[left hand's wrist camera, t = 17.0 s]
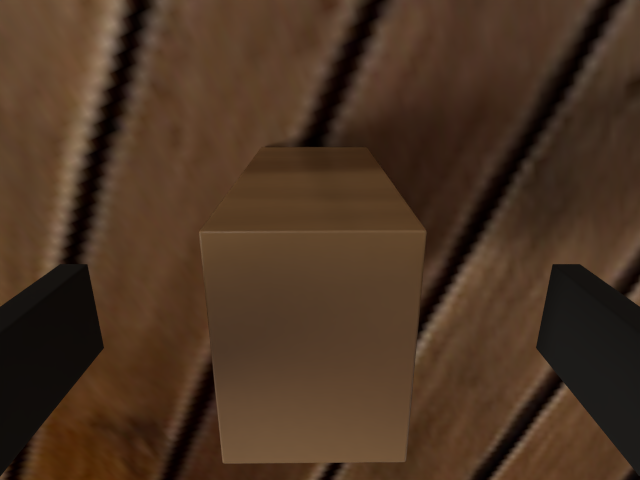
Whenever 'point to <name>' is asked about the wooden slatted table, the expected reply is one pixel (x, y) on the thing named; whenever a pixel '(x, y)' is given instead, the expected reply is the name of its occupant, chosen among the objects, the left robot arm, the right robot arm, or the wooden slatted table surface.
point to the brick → (313, 308)
